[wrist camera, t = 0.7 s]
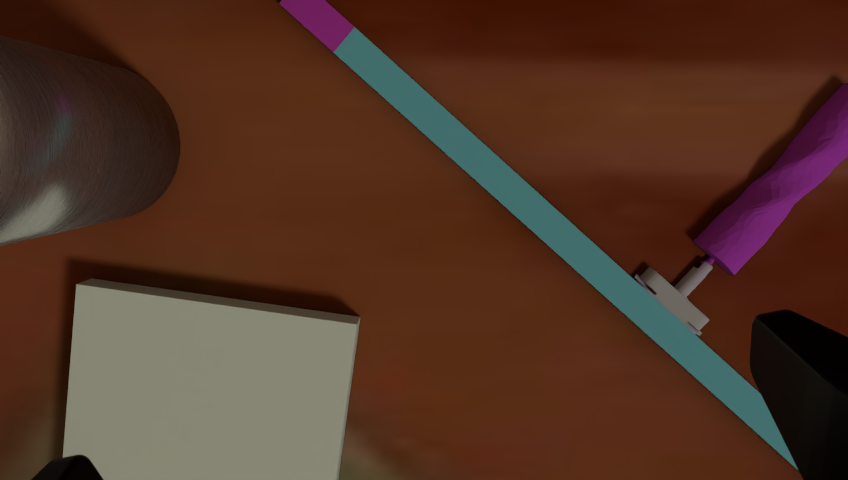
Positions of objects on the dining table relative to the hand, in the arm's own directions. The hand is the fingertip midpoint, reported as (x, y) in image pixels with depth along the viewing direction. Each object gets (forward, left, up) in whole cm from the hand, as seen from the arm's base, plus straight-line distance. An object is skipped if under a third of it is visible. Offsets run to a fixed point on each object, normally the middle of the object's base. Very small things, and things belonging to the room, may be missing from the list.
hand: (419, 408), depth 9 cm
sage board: (-7, +6, -14) cm, 16 cm away
